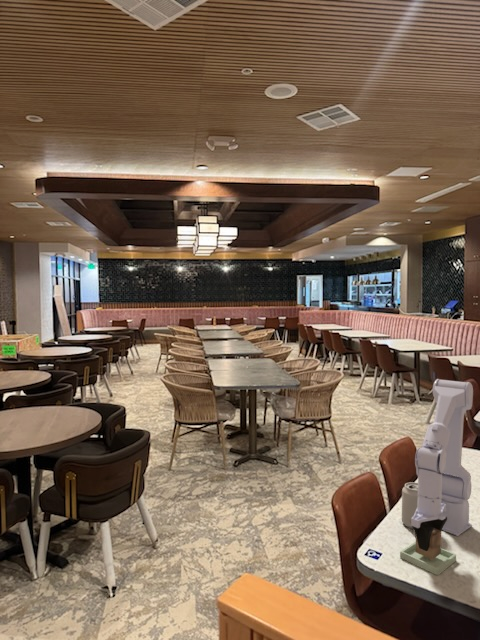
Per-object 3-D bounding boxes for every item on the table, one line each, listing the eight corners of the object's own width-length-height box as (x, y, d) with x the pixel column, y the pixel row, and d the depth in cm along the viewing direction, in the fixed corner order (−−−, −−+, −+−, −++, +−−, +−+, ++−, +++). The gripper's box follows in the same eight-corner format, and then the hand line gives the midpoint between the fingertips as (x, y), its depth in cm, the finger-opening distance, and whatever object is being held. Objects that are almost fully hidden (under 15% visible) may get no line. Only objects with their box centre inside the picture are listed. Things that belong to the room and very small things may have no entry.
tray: (419, 544, 125) (419, 539, 125) (456, 560, 118) (456, 554, 118) (400, 557, 119) (400, 551, 119) (437, 575, 111) (437, 568, 111)
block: (424, 546, 121) (424, 524, 121) (440, 553, 118) (441, 530, 118) (415, 552, 119) (416, 529, 118) (432, 559, 115) (432, 536, 115)
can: (406, 516, 142) (407, 478, 141) (431, 524, 137) (432, 485, 137) (397, 525, 136) (398, 486, 136) (423, 533, 131) (424, 492, 131)
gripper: (430, 507, 110) (429, 562, 110) (457, 491, 119) (456, 542, 120) (403, 497, 115) (402, 550, 116) (431, 483, 125) (430, 532, 125)
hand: (428, 545), depth 118 cm, fingers closed on block, 4 cm apart
